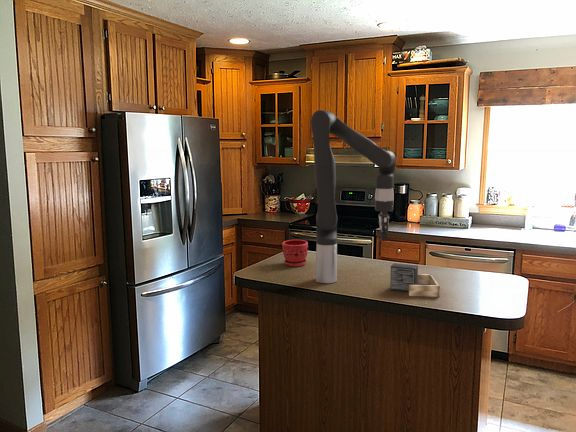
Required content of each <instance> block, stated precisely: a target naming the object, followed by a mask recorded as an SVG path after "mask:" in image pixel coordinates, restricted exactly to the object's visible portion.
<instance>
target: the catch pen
mask: <svg viewBox="0 0 576 432" xmlns="http://www.w3.org/2000/svg"><path fill="white" fill-rule="evenodd" d="M440 290H441V289H440V285H439V283H438V282H437V279H436V278H434V276H433V275H432V274H429V273H428V274H427V273H424V274H423V273H421V274H420V273H418V283H417V285H409V292H408V296H409V297H430V298H431V297H433V298H434V297H436V298H437V297H438V298H439V297H440Z"/></svg>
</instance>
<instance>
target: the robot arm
mask: <svg viewBox="0 0 576 432" xmlns="http://www.w3.org/2000/svg"><path fill="white" fill-rule="evenodd" d="M310 128H311V129H310V130H311V134H312V142H313V159H314V160H313V162H314V163H313V164H314V165H313V167H314V168H313V169H314V170H313V171H314V172H313V173H314V182H315V188H316V194H317V213H316V216H315V219H316V220H315V224H316V225H315V229H316V230H315V234H316V235H315V239H316V240H315V241H316V248H315V249H316V250H315V252H316V253H315V254H316V257H315V259H316V260H315V283H321V284H333V283H336V282H337V279H338V272H337V271H338V270H337V269H338V267H337V266H338V230H337V229H338V228H337V226H338V213H337V212H338V211H337V207H336V197H335V195H336V185H337V174H336V173H337V172H336V171H337V169H336V159H335V157H334V154H333V151H332V147H331V143H330V134H331V135H333V136H335V137H337V138H339V139H340V140H342V141H343V142H344V143H345V144H346V145H347V146H349V147H350V148H351V149H352V150H354V151H355V152H357V153H358V154H360V155H362V156H363V157H365V158H367V160H369V161H370V162H371V163H372V164H374V165H375V166H377V167H378V174H377V175H376V179H375V196H374V210H375V211H376V212H380V213H379V214H378V219H379V220H378V225H379V230H380V231H379V232H380V233H379V237H380V240H381V242H387V241H388V232H389V226H390V225H389V224H390V223H389V222H390V221H389V220H390V214H388V212H393V211H394V202H395V201H394V199H395V197H394V196H395V192H394V177H395V170H396V165H397V164H396V163H397V161H396V160H397V159H396V155H395V154H394V151H393V152H392V151H391V150H385V149H383V148H382V147H380V146H378V145H377V144H376V143H375V142H374V141H373V140H371V139H370V138H368V137H366V136H365V135H363V134H361V133H360V132H358V131H356V130H355V129H354V128H352V127H350V126H348V125H347V124H346V123H344V121H342V120H341V119H340V118H339V117H338V116H336V114H334V113H333V112H332V111H330V110H326V109H325V110H324V109H319V110H316V111H315V112H313V114H312V115H311V119H310Z"/></svg>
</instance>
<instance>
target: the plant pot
mask: <svg viewBox="0 0 576 432" xmlns="http://www.w3.org/2000/svg"><path fill="white" fill-rule="evenodd" d="M281 245H282V246H281V247H282V254H283V257H284V261H283V262H284V264H285V265H286V266H288V265H289V266H288V267H302V265H303V266H305V265H306V264H307V261H308V260H307V256H308V252H309V243H308V241H307V240H303V239H288V240H285V241H283V242H282V244H281Z"/></svg>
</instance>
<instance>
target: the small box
mask: <svg viewBox="0 0 576 432" xmlns="http://www.w3.org/2000/svg"><path fill="white" fill-rule="evenodd" d="M418 274H419V265H416V264H407V263H396V262H395V263H394V262H393V263H392V264H391V265H390V288H389V290H390V291H397V292H405V293H409V285H418V284H417V283H418Z"/></svg>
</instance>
